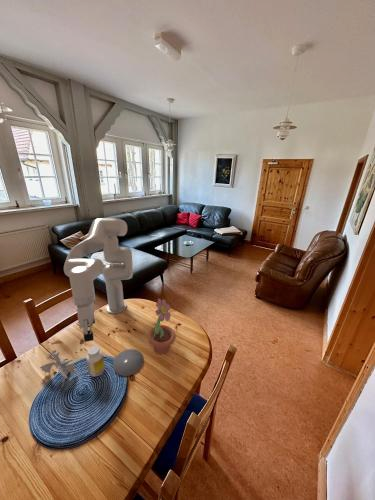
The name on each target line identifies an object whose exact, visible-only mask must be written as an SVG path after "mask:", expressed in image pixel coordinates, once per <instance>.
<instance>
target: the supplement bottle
mask: <svg viewBox="0 0 375 500" xmlns="http://www.w3.org/2000/svg"><path fill="white" fill-rule="evenodd" d="M85 360H86V364H87V369H88V374H89V375H90V377H94V378H95V377H100V376H101V375H102V374H103V373H104V371H105V361H104V355H103V351H102V350H101V349H100V347H99V346H98V345H93V346H91V347H89V348H88V349H87V354H86V359H85Z"/></svg>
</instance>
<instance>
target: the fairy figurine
mask: <svg viewBox="0 0 375 500" xmlns="http://www.w3.org/2000/svg"><path fill="white" fill-rule="evenodd" d="M59 355H60V352H59V351H57V349H54V350H52V351H51V353H48V354H47V356H46V360H50V359H51V360H53V361H51V362H48V363H45V364H43V365H41V366H40V367H39V369H41V371H42V372H44V373H45V374H46V373H48V374H51V369H52V367H53V366H55V368H56V369H57V371H58V373H59V375H62V377H63V381H62V385H61V387H63V386H64V383H65V381H66V379H67V380H69V377H68V374H70V375H69V376H71V375H73V374H75V372H76V371H77V370H78V368H75V363H72V362H74V360H73V359H69V358H61V359H60V357H59Z"/></svg>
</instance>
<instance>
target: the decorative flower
mask: <svg viewBox="0 0 375 500" xmlns="http://www.w3.org/2000/svg"><path fill="white" fill-rule="evenodd" d="M155 306H156V308H157V309H156V310H155V314H156V316H158V317H157V319H156V322H155V321H154V322H153V323H154V327H153V328H151V329H150V330H149V332H148V335H147V339H148V342H149V344H150V345H151V346H152V347H153V350H154V352H155V353H156V354H158V355H159V354H160V355H165V354H166V353H167V352H169V350H170V349H171V345H173V344H174V342H175V340H176V332H175V330H174V329H173V328H172V327H170V326H168V325H163V324H161V322H164V321H166V322H169V321H170V319H171V315H172V314H171V312H170V311H171V305H169V303H167V301H166V300H165V298H163V299H162V300H161V298H158V299H157V302H156V303H155Z"/></svg>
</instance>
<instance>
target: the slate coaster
mask: <svg viewBox="0 0 375 500" xmlns="http://www.w3.org/2000/svg"><path fill="white" fill-rule="evenodd" d="M143 364H144V355H143V354H142V352H141V351H139V350H138V349H134V348H129V349H125V350H122V351H120V352H119V353H117V355H116V356H115V357H114V360H113V361H112V368H114V369H113V371H114V372H115V373H116V374H117V375H118V374H119V375H118V376H120V375H122V376H121V377H128V376H132V375H134V374H136V373H137V372H139V370H141V368H142V367H143Z"/></svg>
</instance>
